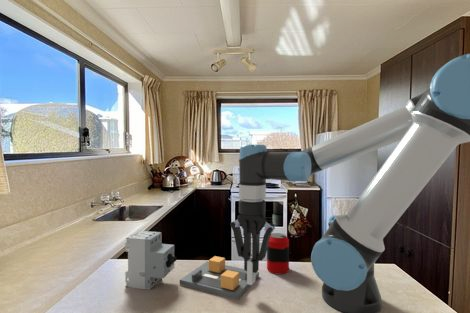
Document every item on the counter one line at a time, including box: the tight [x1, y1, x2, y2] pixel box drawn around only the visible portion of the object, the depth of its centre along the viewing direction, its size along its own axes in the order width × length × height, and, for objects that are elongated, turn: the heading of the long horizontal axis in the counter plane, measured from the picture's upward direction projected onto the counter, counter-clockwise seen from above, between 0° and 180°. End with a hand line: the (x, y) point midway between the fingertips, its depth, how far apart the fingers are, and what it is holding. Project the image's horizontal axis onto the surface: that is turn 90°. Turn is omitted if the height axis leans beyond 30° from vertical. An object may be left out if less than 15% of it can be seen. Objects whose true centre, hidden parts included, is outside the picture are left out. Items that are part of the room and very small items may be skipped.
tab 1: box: [208, 255, 226, 273], centre depth 91 cm, size 4×4×4 cm
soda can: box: [266, 232, 290, 275], centre depth 95 cm, size 8×8×12 cm
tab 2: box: [221, 270, 239, 290], centre depth 80 cm, size 4×4×4 cm
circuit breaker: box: [124, 230, 177, 290], centre depth 85 cm, size 8×14×15 cm, turn 78°
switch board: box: [179, 260, 260, 301], centre depth 87 cm, size 20×16×4 cm
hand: (251, 282), depth 77 cm, fingers closed
